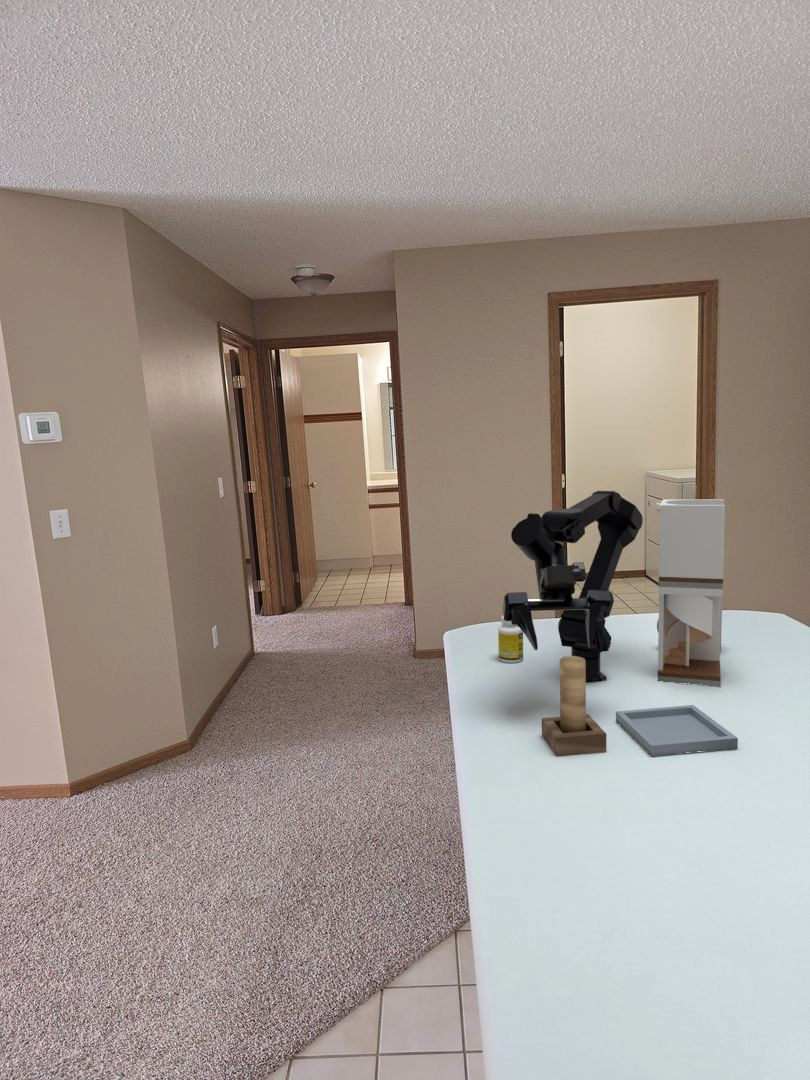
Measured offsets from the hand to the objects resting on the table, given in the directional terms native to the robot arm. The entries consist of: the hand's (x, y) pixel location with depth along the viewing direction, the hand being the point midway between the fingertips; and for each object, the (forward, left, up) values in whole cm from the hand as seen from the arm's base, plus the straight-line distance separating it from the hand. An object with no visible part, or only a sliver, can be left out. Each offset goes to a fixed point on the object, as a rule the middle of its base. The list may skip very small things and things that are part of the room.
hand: (563, 648), depth 125 cm
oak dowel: (+8, -1, -13) cm, 16 cm away
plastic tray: (+8, +16, -13) cm, 22 cm away
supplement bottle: (-36, 0, -14) cm, 39 cm away
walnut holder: (+8, -1, -13) cm, 16 cm away
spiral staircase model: (-18, +32, -14) cm, 39 cm away
